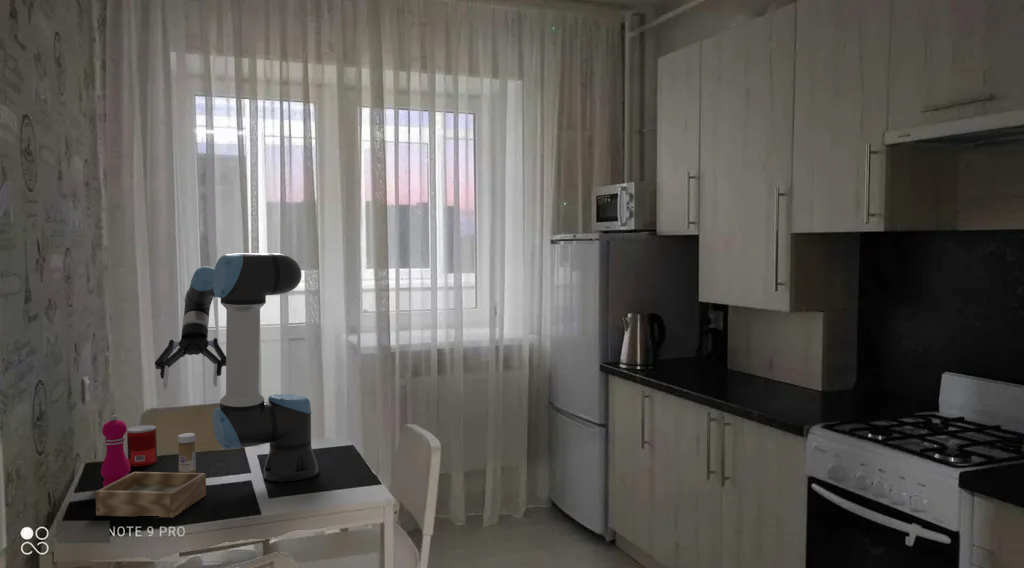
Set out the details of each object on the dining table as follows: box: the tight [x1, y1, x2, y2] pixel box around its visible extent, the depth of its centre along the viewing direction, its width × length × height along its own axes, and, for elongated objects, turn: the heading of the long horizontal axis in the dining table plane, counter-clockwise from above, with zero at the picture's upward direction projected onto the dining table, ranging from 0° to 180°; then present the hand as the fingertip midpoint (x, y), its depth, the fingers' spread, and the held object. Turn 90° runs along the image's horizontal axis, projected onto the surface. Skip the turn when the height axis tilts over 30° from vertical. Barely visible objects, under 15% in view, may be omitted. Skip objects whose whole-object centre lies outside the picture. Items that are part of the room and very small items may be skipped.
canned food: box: [126, 424, 158, 468], centre depth 224 cm, size 8×8×11 cm
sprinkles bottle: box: [177, 432, 197, 473], centre depth 206 cm, size 5×5×13 cm
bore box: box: [95, 471, 207, 518], centre depth 187 cm, size 20×16×6 cm
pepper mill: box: [100, 414, 131, 488], centre depth 202 cm, size 7×7×20 cm
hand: (190, 385), depth 215 cm, fingers open, 13 cm apart
